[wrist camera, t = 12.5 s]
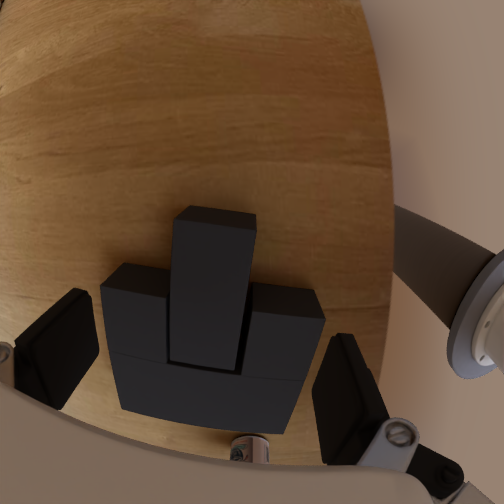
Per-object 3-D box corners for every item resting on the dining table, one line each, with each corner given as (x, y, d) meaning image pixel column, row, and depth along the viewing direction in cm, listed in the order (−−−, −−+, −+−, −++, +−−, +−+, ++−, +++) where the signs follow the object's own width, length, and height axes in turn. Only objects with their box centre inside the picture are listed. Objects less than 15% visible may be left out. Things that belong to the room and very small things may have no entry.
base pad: (314, 289, 23) (326, 319, 19) (280, 402, 28) (283, 434, 23) (123, 262, 22) (99, 285, 18) (134, 380, 27) (121, 409, 23)
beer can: (241, 429, 30) (238, 515, 18) (275, 438, 30) (280, 519, 19) (225, 445, 31) (219, 523, 20) (257, 453, 32) (258, 528, 20)
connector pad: (256, 214, 21) (256, 230, 17) (237, 336, 25) (234, 370, 20) (189, 205, 21) (173, 218, 17) (181, 328, 24) (169, 360, 20)
